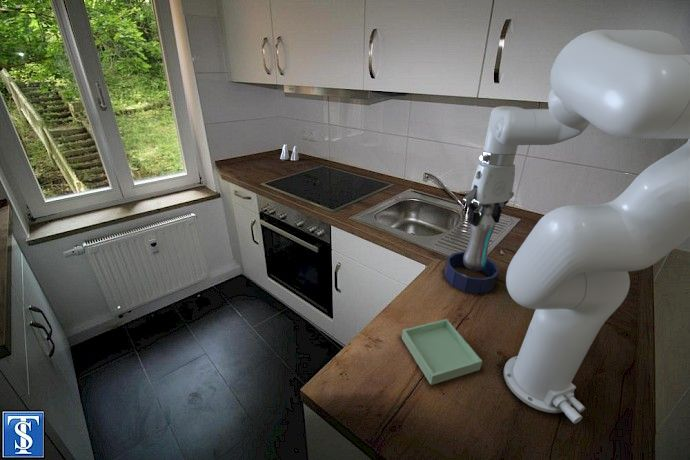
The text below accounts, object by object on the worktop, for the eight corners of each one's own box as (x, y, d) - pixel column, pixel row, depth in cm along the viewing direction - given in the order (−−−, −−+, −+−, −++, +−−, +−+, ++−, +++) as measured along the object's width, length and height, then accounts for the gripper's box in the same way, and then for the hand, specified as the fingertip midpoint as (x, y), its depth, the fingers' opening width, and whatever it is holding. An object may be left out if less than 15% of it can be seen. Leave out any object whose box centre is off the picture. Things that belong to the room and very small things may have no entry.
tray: (479, 369, 68) (482, 361, 67) (430, 385, 65) (432, 376, 63) (445, 326, 79) (446, 318, 78) (401, 338, 76) (402, 329, 74)
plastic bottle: (470, 275, 91) (484, 211, 82) (457, 262, 96) (469, 202, 87) (489, 271, 92) (505, 209, 83) (475, 259, 98) (488, 200, 89)
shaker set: (280, 161, 211) (279, 145, 206) (281, 159, 215) (279, 143, 210) (298, 161, 212) (297, 144, 207) (298, 159, 216) (297, 143, 211)
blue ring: (505, 287, 93) (509, 274, 91) (463, 297, 89) (467, 283, 87) (473, 261, 105) (476, 249, 103) (435, 269, 101) (437, 256, 99)
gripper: (479, 165, 74) (465, 232, 82) (536, 159, 79) (518, 224, 87) (459, 157, 80) (448, 221, 88) (513, 153, 85) (498, 213, 93)
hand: (483, 222), depth 88 cm, fingers closed on plastic bottle, 6 cm apart
